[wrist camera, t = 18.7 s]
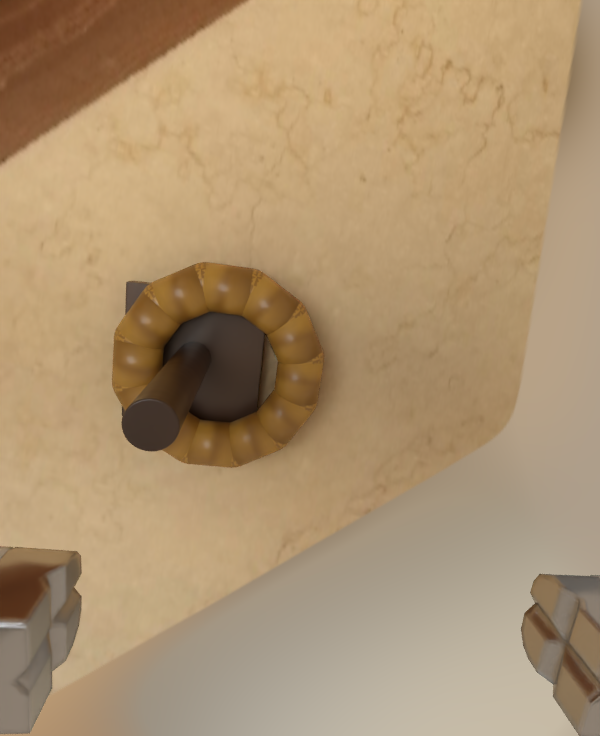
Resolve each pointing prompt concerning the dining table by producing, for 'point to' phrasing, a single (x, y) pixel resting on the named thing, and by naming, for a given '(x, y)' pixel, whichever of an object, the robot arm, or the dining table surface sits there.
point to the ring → (236, 297)
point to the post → (196, 377)
